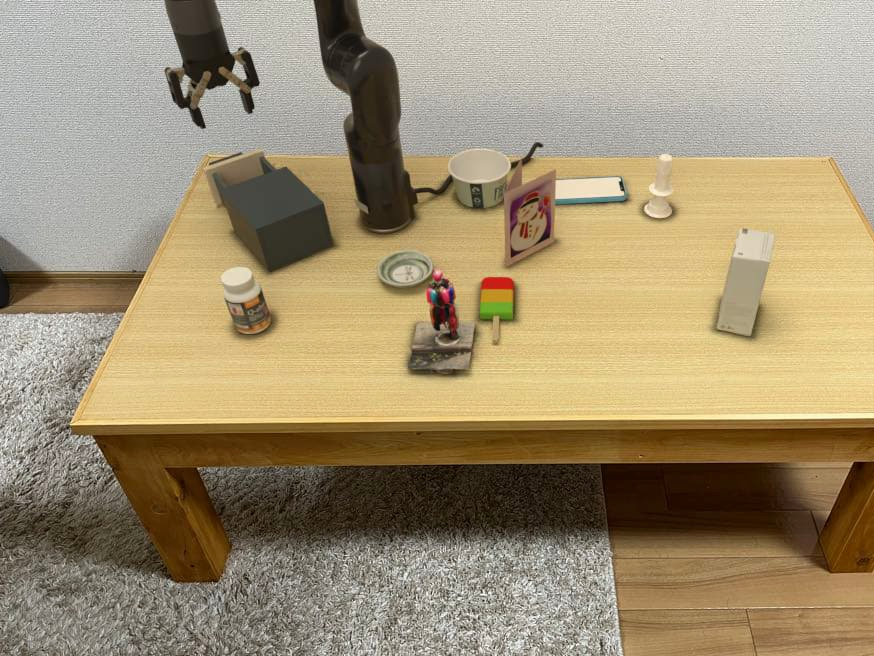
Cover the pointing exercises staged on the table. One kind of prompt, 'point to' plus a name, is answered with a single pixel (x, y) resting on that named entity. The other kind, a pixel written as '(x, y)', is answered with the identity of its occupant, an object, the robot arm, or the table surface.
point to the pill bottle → (245, 300)
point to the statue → (442, 332)
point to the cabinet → (278, 218)
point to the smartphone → (590, 190)
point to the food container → (479, 176)
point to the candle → (661, 189)
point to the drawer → (235, 171)
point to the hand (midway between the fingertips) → (225, 119)
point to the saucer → (405, 268)
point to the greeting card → (528, 214)
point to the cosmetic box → (745, 281)
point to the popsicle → (496, 301)
